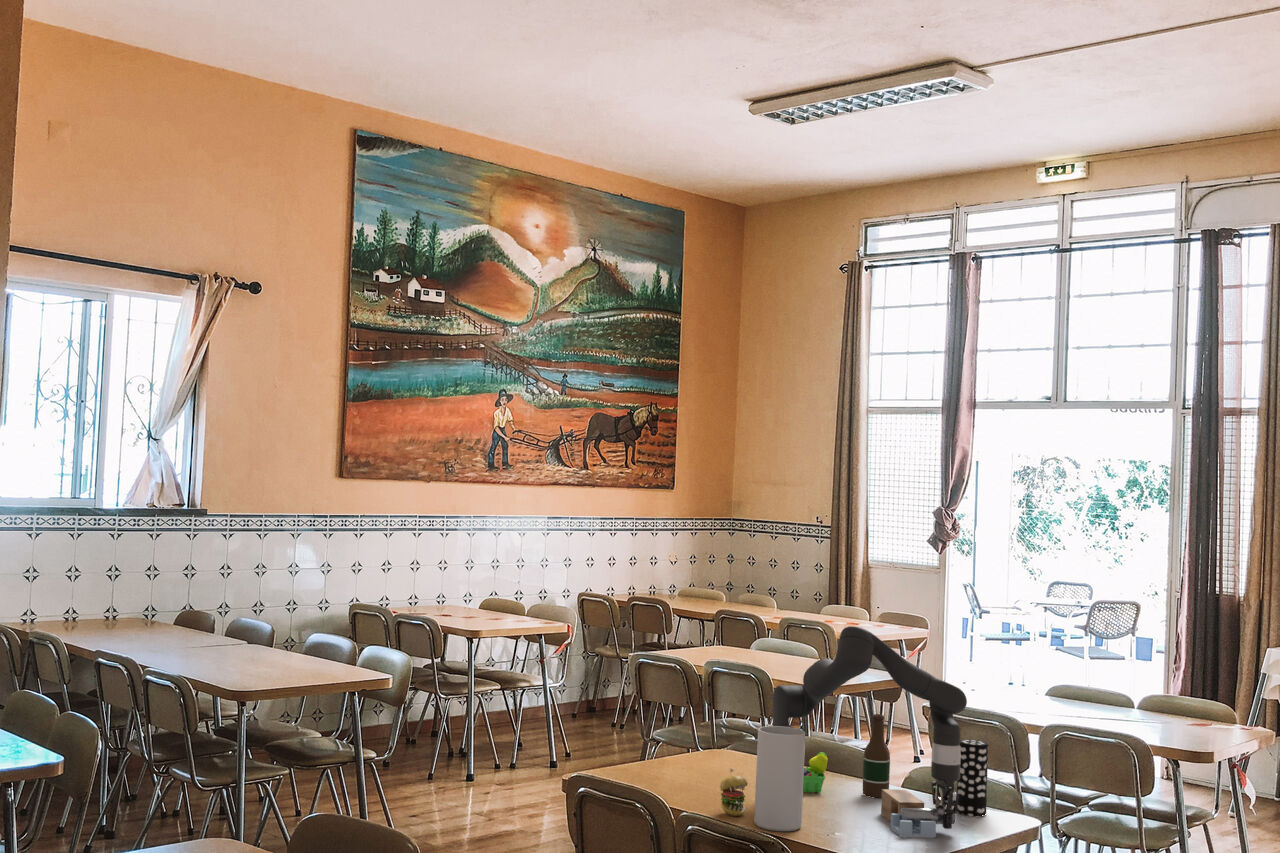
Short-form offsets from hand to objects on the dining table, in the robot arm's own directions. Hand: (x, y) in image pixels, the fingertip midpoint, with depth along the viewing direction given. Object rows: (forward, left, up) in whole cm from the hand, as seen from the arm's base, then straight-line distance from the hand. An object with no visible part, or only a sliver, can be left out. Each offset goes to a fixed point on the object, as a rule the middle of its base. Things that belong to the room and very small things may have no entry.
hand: (943, 825), depth 308 cm
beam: (-7, +12, -2) cm, 14 cm away
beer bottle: (-5, +40, -2) cm, 41 cm away
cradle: (-9, 0, -2) cm, 9 cm away
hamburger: (-54, +15, -2) cm, 57 cm away
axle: (-5, 0, 0) cm, 5 cm away
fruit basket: (-23, +46, -2) cm, 52 cm away
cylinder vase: (-44, +4, -2) cm, 45 cm away
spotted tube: (+17, +23, -2) cm, 28 cm away
